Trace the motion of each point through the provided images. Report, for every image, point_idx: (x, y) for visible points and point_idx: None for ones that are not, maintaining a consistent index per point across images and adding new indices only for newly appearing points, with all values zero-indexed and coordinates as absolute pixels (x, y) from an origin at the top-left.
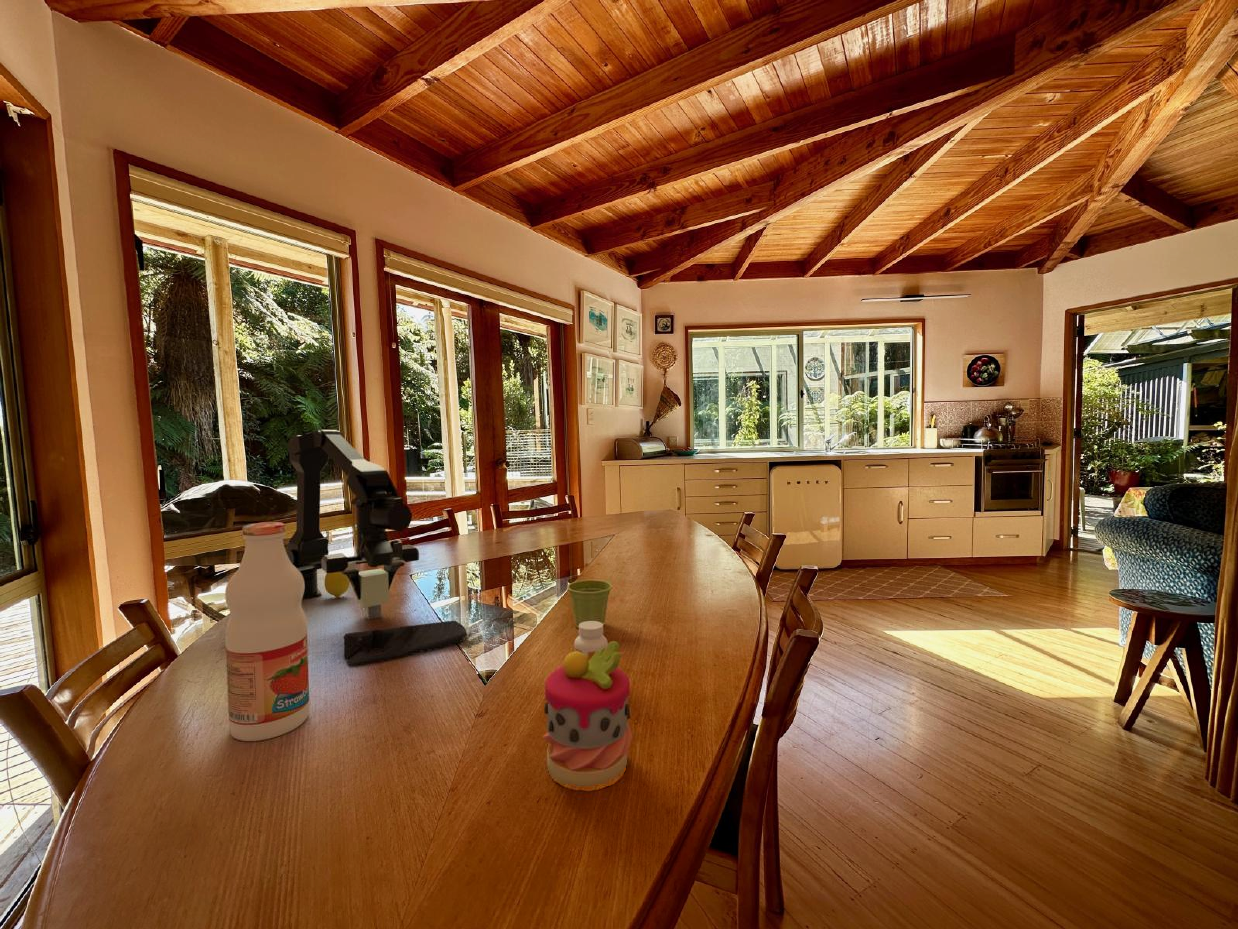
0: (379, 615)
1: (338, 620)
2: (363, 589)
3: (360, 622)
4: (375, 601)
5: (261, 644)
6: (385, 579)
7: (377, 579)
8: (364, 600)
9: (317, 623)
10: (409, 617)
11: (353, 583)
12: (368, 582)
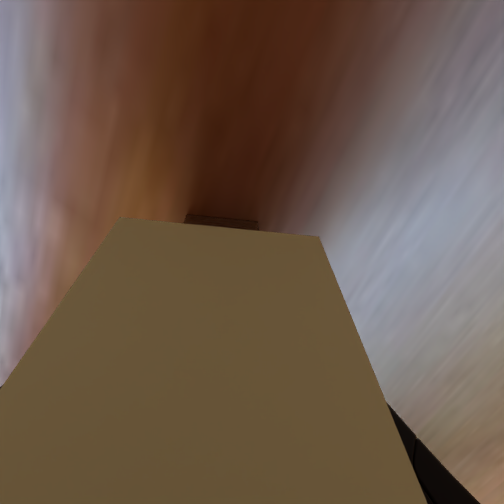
0: (194, 222)
1: (361, 308)
2: (356, 351)
3: (306, 213)
4: (226, 244)
5: None
6: (37, 414)
7: (170, 441)
8: (320, 268)
9: (437, 327)
10: (21, 78)
11: (448, 476)
12: (314, 422)
